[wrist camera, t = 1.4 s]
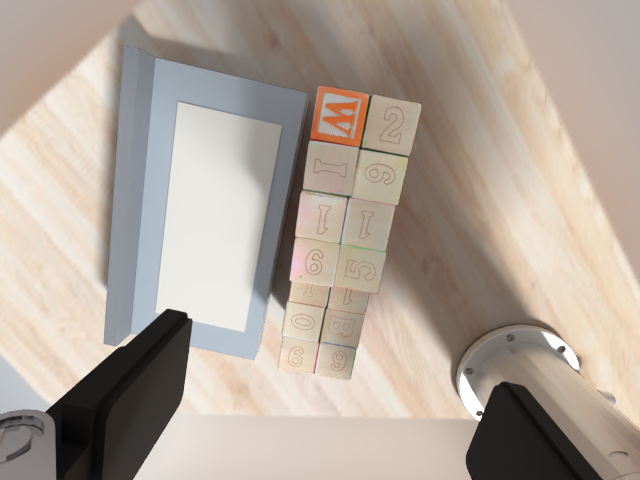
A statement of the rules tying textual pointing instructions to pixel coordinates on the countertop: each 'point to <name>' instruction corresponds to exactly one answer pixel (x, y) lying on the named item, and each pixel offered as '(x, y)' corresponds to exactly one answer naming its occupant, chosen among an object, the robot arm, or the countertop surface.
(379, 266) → the stack of blocks
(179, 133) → the tray
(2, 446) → the robot arm
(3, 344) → the countertop surface
